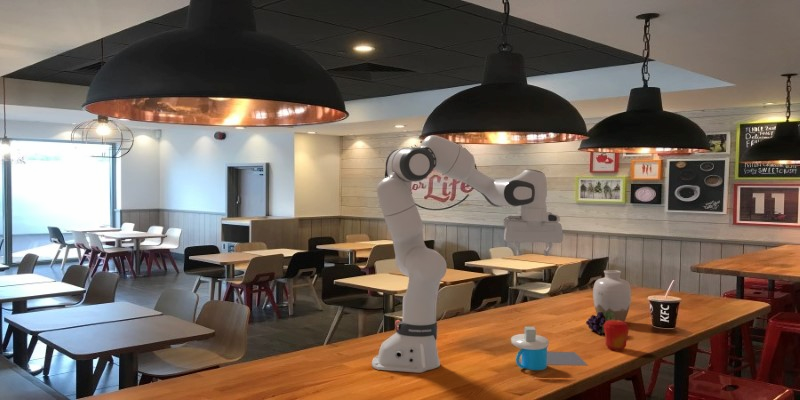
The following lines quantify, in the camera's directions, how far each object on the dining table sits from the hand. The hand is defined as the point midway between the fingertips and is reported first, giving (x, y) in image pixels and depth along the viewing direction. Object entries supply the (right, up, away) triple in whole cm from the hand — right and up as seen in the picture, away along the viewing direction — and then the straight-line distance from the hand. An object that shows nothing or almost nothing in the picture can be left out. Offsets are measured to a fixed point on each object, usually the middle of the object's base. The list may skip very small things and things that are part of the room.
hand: (532, 255), depth 216 cm
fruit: (+36, -35, +33) cm, 60 cm away
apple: (+33, -36, +10) cm, 49 cm away
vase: (+46, -35, +53) cm, 78 cm away
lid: (-4, -27, -16) cm, 32 cm away
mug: (-4, -35, -16) cm, 39 cm away
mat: (+7, -35, -5) cm, 36 cm away
